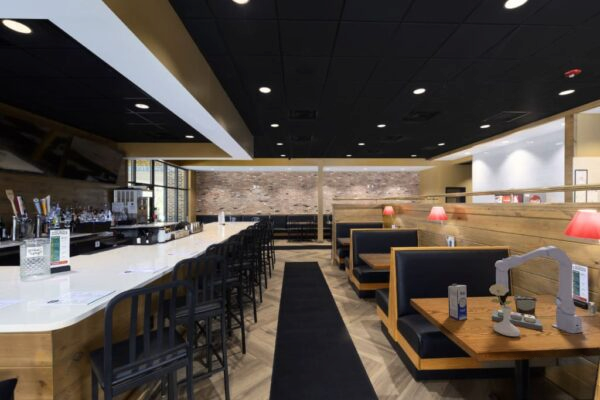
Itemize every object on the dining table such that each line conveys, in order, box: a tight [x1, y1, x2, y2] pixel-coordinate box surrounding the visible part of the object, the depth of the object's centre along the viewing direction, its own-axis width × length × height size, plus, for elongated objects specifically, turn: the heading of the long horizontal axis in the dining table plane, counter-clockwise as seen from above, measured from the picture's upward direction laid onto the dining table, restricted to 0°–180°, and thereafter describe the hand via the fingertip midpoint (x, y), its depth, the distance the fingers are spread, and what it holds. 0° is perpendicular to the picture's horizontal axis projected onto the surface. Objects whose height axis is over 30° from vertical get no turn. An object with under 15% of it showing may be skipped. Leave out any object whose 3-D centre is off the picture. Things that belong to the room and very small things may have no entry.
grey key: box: [510, 311, 522, 320], centre depth 157 cm, size 4×4×2 cm
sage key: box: [497, 309, 504, 316], centre depth 160 cm, size 4×4×2 cm
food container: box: [513, 294, 538, 315], centre depth 170 cm, size 12×6×10 cm, turn 84°
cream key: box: [523, 314, 536, 323], centre depth 153 cm, size 4×4×2 cm
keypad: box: [491, 309, 543, 331], centre depth 157 cm, size 22×11×2 cm, turn 51°
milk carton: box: [447, 283, 468, 322], centre depth 163 cm, size 7×7×20 cm
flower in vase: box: [489, 283, 521, 337], centre depth 143 cm, size 13×11×25 cm
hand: (502, 304), depth 161 cm, fingers open, 3 cm apart
